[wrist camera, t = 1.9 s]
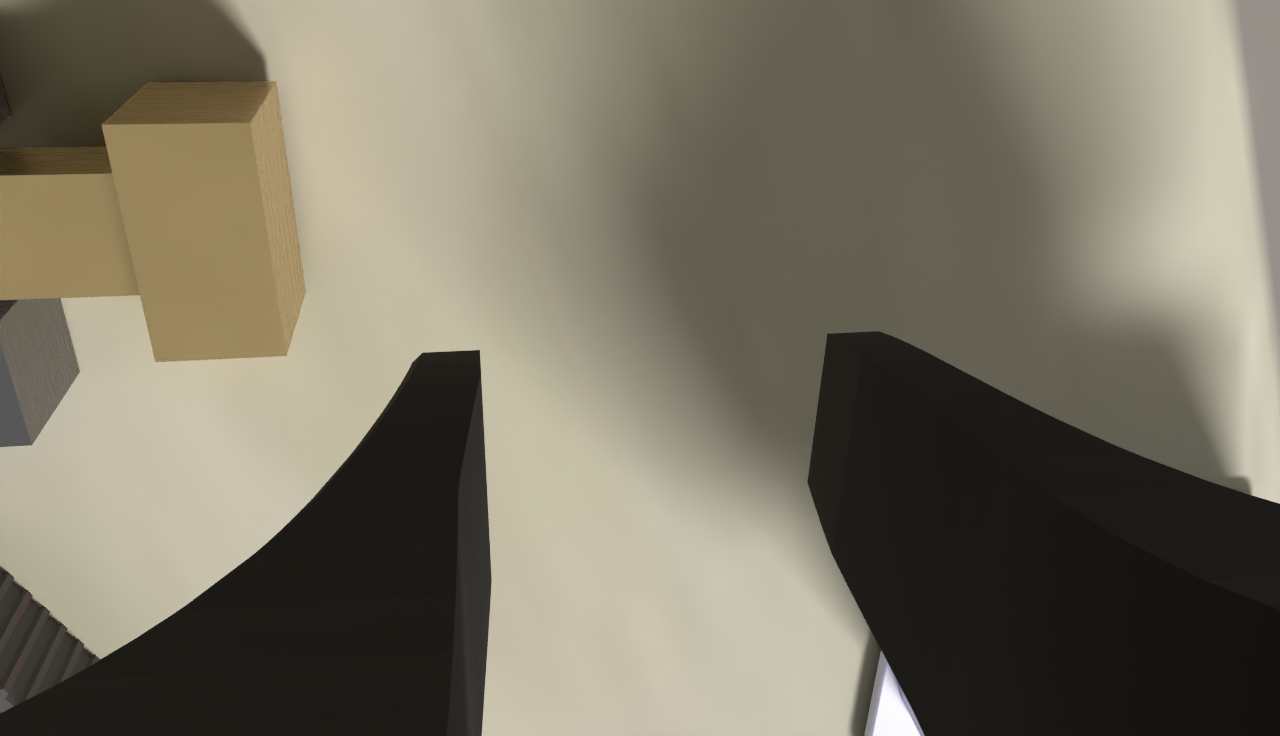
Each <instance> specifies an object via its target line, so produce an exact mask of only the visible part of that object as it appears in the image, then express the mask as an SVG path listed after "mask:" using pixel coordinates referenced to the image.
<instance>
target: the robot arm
mask: <svg viewBox="0 0 1280 736" xmlns="http://www.w3.org/2000/svg"><path fill="white" fill-rule="evenodd" d="M808 485H809V488H810V491H811V494H812V497H813V501H814V504H815V507H816V510H817V513H818V516H819V519H820V522H821V525H822V528H823V531H824V533H825V536H826V539H827V542H828V544H829V547H830V550H831V553H832V555H833V557H834V559H835V561H836V563H837V565H838V567H839V569H840V571H841V573H842V575H843V577H844V579H845V581H846V583H847V585H848V587H849V589H850V591H851V593H852V595H853V597H854V599H855V601H856V603H857V605H858V607H859V608H860V610H861V612H862V614H863V616H864V618H865V620H866V622H867V624H868V626H869V628H870V630H871V631H872V633H873V635H874V637H875V639H876V641H877V643H878V645H879V647H880V649H881V652H880V657H879V663H878V668H877V673H876V678H875V683H874V688H873V693H872V698H871V703H870V708H869V714H868V719H867V724H866V729H865V734H864V736H1280V504H1278V503H1275V502H1272V501H1268V500H1265V499H1261V498H1258V497H1255V496H1251V495H1248V494H1245V493H1242V492H1239V491H1236V490H1233V489H1230V488H1227V487H1224V486H1221V485H1218V484H1214V483H1212V482H1209V481H1206V480H1203V479H1200V478H1198V477H1195V476H1192V475H1190V474H1187V473H1184V472H1182V471H1179V470H1176V469H1174V468H1171V467H1168V466H1166V465H1163V464H1160V463H1158V462H1155V461H1152V460H1150V459H1147V458H1144V457H1142V456H1139V455H1137V454H1134V453H1132V452H1129V451H1127V450H1125V449H1122V448H1120V447H1117V446H1115V445H1113V444H1110V443H1108V442H1106V441H1104V440H1101V439H1099V438H1097V437H1095V436H1093V435H1091V434H1088V433H1086V432H1084V431H1082V430H1080V429H1077V428H1075V427H1073V426H1071V425H1069V424H1066V423H1064V422H1062V421H1060V420H1058V419H1056V418H1054V417H1051V416H1049V415H1047V414H1045V413H1043V412H1041V411H1039V410H1037V409H1035V408H1033V407H1031V406H1029V405H1027V404H1025V403H1023V402H1021V401H1019V400H1017V399H1015V398H1013V397H1011V396H1009V395H1007V394H1005V393H1003V392H1001V391H1000V390H998V389H996V388H994V387H992V386H990V385H988V384H986V383H984V382H982V381H980V380H978V379H977V378H975V377H973V376H971V375H969V374H967V373H965V372H963V371H961V370H959V369H957V368H956V367H954V366H952V365H950V364H948V363H946V362H944V361H942V360H940V359H938V358H936V357H934V356H933V355H931V354H929V353H927V352H925V351H923V350H921V349H919V348H917V347H915V346H912V345H910V344H908V343H906V342H904V341H902V340H899V339H897V338H895V337H892V336H890V335H887V334H884V333H882V332H857V333H836V334H827V342H826V349H825V357H824V364H823V371H822V379H821V386H820V394H819V401H818V409H817V416H816V423H815V431H814V438H813V446H812V453H811V461H810V468H809V475H808ZM490 596H491V563H490V542H489V522H488V502H487V483H486V464H485V444H484V425H483V405H482V386H481V367H480V350H474V351H453V352H431V353H422V354H421V355H420V356H419V357H418V358H417V359H416V360H415V361H414V362H413V363H412V365H411V367H410V369H409V371H408V372H407V374H406V376H405V378H404V380H403V381H402V383H401V385H400V386H399V388H398V389H397V391H396V393H395V394H394V396H393V397H392V399H391V400H390V402H389V403H388V405H387V406H386V408H385V409H384V411H383V412H382V414H381V415H380V416H379V418H378V419H377V421H376V422H375V423H374V425H373V426H372V427H371V429H370V430H369V431H368V433H367V434H366V435H365V437H364V438H363V439H362V441H361V442H360V444H359V445H358V446H357V448H356V449H355V450H354V451H353V453H352V454H351V455H350V456H349V457H348V459H347V460H346V461H345V462H344V463H343V464H342V466H341V467H340V468H339V469H338V470H337V471H336V472H335V474H334V475H333V476H332V477H331V478H330V479H329V481H328V482H327V483H326V484H325V485H324V486H323V487H322V489H321V490H320V491H319V492H318V493H317V494H316V495H315V497H314V498H313V499H312V500H311V501H310V502H309V503H308V504H307V505H306V506H305V507H304V508H303V509H302V510H301V511H300V512H299V513H298V514H297V515H296V516H295V517H294V518H293V519H292V520H291V521H290V522H289V523H288V524H287V525H286V526H285V527H284V528H283V529H282V530H281V531H280V532H279V533H277V534H276V535H275V536H274V537H273V538H272V539H271V540H270V541H269V542H268V543H266V544H265V545H264V546H263V547H262V548H261V549H260V550H258V551H257V552H256V553H255V554H254V555H252V556H251V557H250V558H248V559H247V560H246V561H245V562H243V563H242V564H241V565H239V566H238V567H237V568H235V569H234V570H233V571H231V572H230V573H229V574H227V575H226V576H225V577H223V578H222V579H221V580H219V581H218V582H217V583H215V584H214V585H213V586H211V587H210V588H209V589H207V590H206V591H205V592H203V593H202V594H201V595H199V596H198V597H197V598H195V599H194V600H193V601H191V602H190V603H189V604H187V605H186V606H185V607H183V608H182V609H180V610H179V611H177V612H176V613H174V614H173V615H171V616H170V617H168V618H167V619H165V620H164V621H162V622H161V623H159V624H157V625H156V626H154V627H153V628H151V629H150V630H148V631H147V632H145V633H144V634H142V635H141V636H139V637H137V638H136V639H134V640H133V641H131V642H129V643H128V644H126V645H124V646H123V647H121V648H119V649H118V650H116V651H114V652H113V653H111V654H109V655H108V656H106V657H104V658H103V659H101V660H99V661H98V662H96V663H94V664H93V665H91V666H89V667H87V668H86V669H84V670H82V671H80V672H78V673H77V674H75V675H73V676H71V677H69V678H68V679H66V680H64V681H62V682H61V683H59V684H57V685H55V686H53V687H51V688H49V689H47V690H45V691H43V692H41V693H39V694H37V695H35V696H33V697H31V698H29V699H27V700H25V701H23V702H22V703H20V704H18V705H16V706H14V707H12V708H10V709H8V710H6V711H4V712H2V713H0V736H481V734H482V719H483V704H484V689H485V674H486V658H487V643H488V628H489V612H490Z"/></svg>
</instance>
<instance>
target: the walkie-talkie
mask: <svg viewBox="0 0 1280 736" xmlns="http://www.w3.org/2000/svg"><path fill="white" fill-rule="evenodd" d="M13 579H14V577H13V576H12V575H11V574H10V573H3V572H1V571H0V713H2V712H4V711H6V710H8V709H10V708H12V707H14V706H16V705H18V704H20V703H22V702H23V701H25V700H27V699H29V698H31V697H33V696H35V695H37V694H39V693H41V692H43V691H45V690H47V689H49V688H51V687H53V686H55V685H57V684H59V683H61V682H62V681H64V680H66V679H68V678H69V677H71V676H73V675H75V674H77V673H78V672H80V671H82V670H84V669H86V668H87V667H89V666H91V665H93V664H94V663H96V662H98V661H99V660H100V659H99V658H98V657H97V656H90V655H89V654H88V653H87V652H86V651H85V650H84V649H83V646H84V644H83V643H82V642H81V641H80V640H75V641H74V640H73V639H72V638H71V637H70V636H69V635H68V634H67V633H66V631H67V628H66V627H65V626H64V625H63V624H56V623H55V622H54V621H53V620H52V619H51V618H50V617H49V616H48V615H49V614H50V611H49V610H48V609H46V608H45V607H43V608H39V607H38V606H37V605H36V604H35V603H34V602H33V601H32V600H31V597H32V594H31V593H30V592H29V591H28V590H26V591H21V590H20V589H19V588H18V587H17V586H16V585H15V584H14V583H13V582H12V581H13Z"/></svg>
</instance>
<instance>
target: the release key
mask: <svg viewBox="0 0 1280 736" xmlns="http://www.w3.org/2000/svg"><path fill="white" fill-rule="evenodd" d="M102 129H103V134H104V138H105V143H106V147H49V148H0V300H18V299H45V298H73V297H100V296H127V295H140V296H141V301H142V305H143V310H144V314H145V318H146V323H147V327H148V332H149V336H150V340H151V345H152V349H153V354H154V358H155V362H165V361H186V360H208V359H230V358H251V357H273V356H287V352H288V349H289V346H290V342H291V339H292V336H293V332H294V329H295V326H296V322H297V319H298V316H299V313H300V309H301V306H302V303H303V299H304V296H305V293H306V289H305V282H304V275H303V268H302V261H301V254H300V247H299V240H298V232H297V225H296V218H295V211H294V204H293V197H292V190H291V183H290V176H289V169H288V161H287V154H286V147H285V140H284V133H283V126H282V119H281V112H280V105H279V97H278V90H277V83H276V82H147V83H146V84H145V85H144V86H143V87H142V88H141V89H140V90H139V91H138V92H137V93H135V94H134V95H133V96H132V97H131V98H130V99H129V100H128V101H127V102H126V103H125V104H123V105H122V106H121V107H120V108H119V109H118V110H117V111H116V112H115V113H114V114H113V115H112V116H110V117H109V118H108V119H107V120H106V121H105V122H104V123H103V124H102Z"/></svg>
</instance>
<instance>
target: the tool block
mask: <svg viewBox="0 0 1280 736" xmlns="http://www.w3.org/2000/svg"><path fill="white" fill-rule="evenodd" d="M10 116H11V115H10V111H9V108H8V104H7V100H6V96H5V93H4V89H3V85H2V82H1V78H0V123H2V122H3V121H4V120H6V119H7V118H9V117H10ZM79 372H80V371H79V367H78V363H77V360H76V356H75V352H74V348H73V345H72V341H71V337H70V334H69V330H68V326H67V323H66V319H65V315H64V311H63V308H62V304H61V300H60V298H45V299H18V300H0V447H7V446H25V445H32V444H33V443H34V441H35V440H36V438H37V437H38V435H39V433H40V432H41V430H42V429H43V427H44V426H45V424H46V423H47V421H48V420H49V418H50V417H51V415H52V414H53V412H54V411H55V409H56V408H57V406H58V404H59V403H60V401H61V400H62V398H63V397H64V395H65V394H66V392H67V391H68V389H69V388H70V386H71V385H72V383H73V382H74V380H75V378H76V377H77V375H78V374H79Z"/></svg>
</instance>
